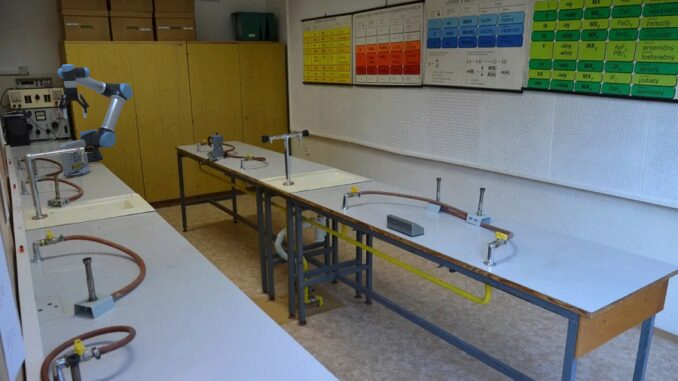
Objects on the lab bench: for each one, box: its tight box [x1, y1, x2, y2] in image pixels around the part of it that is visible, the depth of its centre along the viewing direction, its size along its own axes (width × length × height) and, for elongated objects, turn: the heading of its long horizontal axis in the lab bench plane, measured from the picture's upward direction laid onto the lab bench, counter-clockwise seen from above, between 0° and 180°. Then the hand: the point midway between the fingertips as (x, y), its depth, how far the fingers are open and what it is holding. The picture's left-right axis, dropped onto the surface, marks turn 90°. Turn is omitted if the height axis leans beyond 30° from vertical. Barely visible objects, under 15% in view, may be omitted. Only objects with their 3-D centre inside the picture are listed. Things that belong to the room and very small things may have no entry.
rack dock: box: [63, 165, 91, 177], centre depth 330 cm, size 10×13×4 cm
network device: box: [59, 139, 89, 175], centre depth 327 cm, size 26×9×20 cm, turn 1°
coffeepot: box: [206, 132, 225, 157], centre depth 387 cm, size 15×9×18 cm, turn 138°
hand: (75, 118), depth 348 cm, fingers open, 13 cm apart
